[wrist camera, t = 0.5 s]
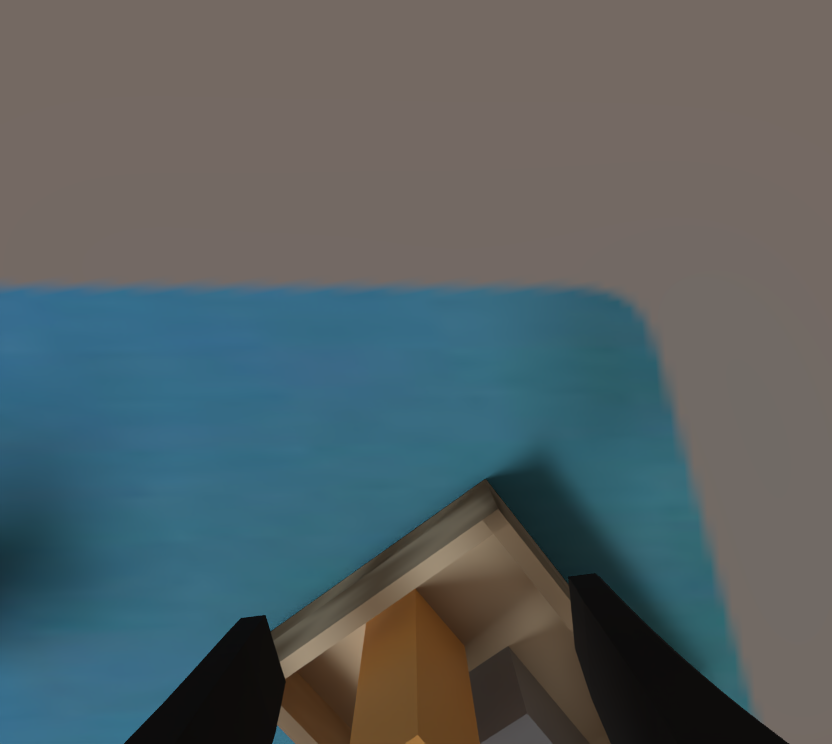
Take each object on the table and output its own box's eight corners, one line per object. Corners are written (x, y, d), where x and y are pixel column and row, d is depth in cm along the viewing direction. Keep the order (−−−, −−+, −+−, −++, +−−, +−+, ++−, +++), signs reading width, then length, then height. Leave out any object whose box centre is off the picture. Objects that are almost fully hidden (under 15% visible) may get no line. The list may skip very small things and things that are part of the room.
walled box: (450, 832, 24) (455, 906, 22) (264, 636, 22) (241, 688, 19) (660, 701, 23) (696, 761, 20) (485, 478, 21) (497, 508, 18)
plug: (416, 678, 22) (419, 882, 14) (366, 622, 21) (341, 804, 13) (464, 646, 21) (494, 836, 14) (415, 588, 21) (418, 754, 13)
